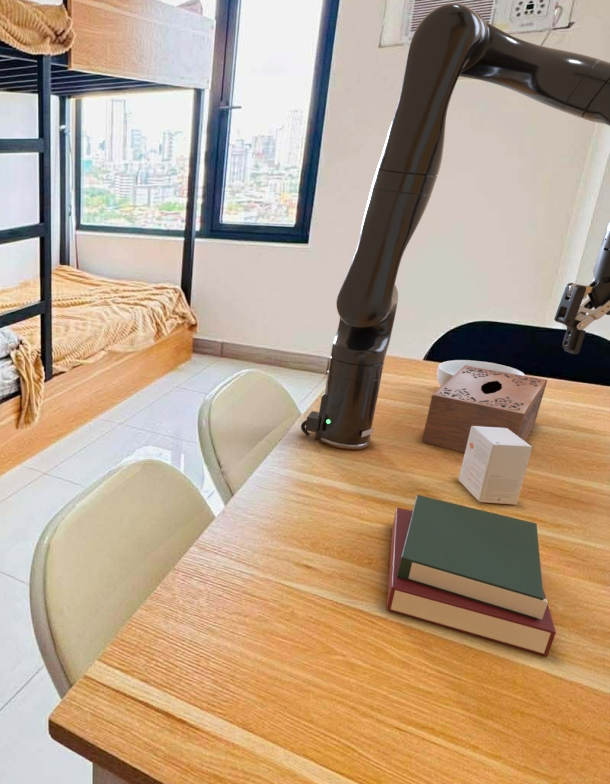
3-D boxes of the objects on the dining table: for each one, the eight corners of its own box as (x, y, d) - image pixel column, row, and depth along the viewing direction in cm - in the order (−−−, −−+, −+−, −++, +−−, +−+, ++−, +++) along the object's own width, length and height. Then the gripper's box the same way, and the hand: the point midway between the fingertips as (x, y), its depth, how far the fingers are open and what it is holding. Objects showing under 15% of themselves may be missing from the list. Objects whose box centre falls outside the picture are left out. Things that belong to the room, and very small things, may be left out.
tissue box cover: (455, 407, 142) (465, 365, 138) (534, 424, 132) (547, 379, 129) (421, 441, 125) (432, 394, 121) (510, 464, 115) (524, 414, 112)
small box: (517, 506, 101) (534, 447, 98) (478, 502, 102) (494, 444, 99) (492, 482, 109) (508, 427, 105) (457, 480, 110) (471, 424, 106)
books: (386, 610, 78) (396, 566, 76) (392, 526, 96) (400, 489, 94) (548, 657, 71) (565, 610, 68) (522, 557, 88) (534, 517, 86)
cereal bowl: (435, 382, 158) (441, 355, 156) (517, 394, 149) (525, 366, 146) (429, 402, 145) (435, 373, 143) (518, 417, 136) (527, 386, 133)
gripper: (669, 241, 92) (633, 347, 97) (564, 240, 93) (534, 345, 99) (716, 248, 85) (674, 362, 91) (601, 247, 86) (567, 359, 92)
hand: (601, 353), depth 95 cm, fingers open, 8 cm apart
